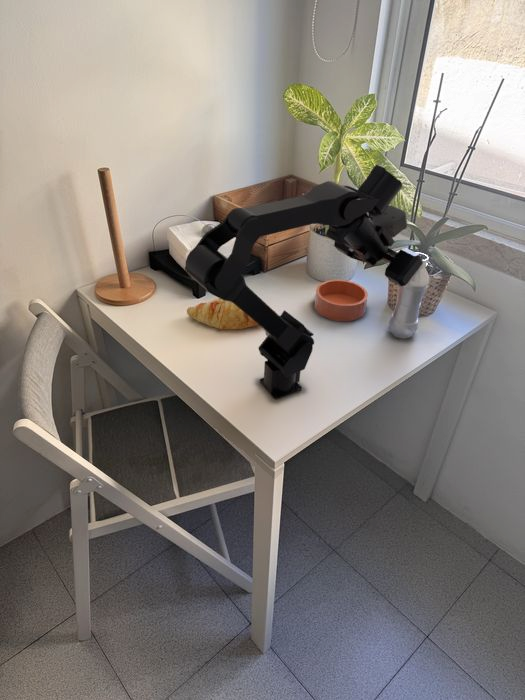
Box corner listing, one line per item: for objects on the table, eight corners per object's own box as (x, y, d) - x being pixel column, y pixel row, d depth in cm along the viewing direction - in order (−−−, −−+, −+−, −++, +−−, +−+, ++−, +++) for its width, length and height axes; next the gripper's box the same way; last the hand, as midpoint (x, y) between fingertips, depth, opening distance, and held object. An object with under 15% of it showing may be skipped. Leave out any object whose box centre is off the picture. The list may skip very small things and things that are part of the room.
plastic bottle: (412, 327, 122) (432, 250, 110) (416, 343, 117) (438, 264, 105) (385, 324, 123) (402, 248, 111) (388, 341, 117) (406, 262, 105)
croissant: (186, 336, 122) (180, 320, 115) (190, 300, 126) (186, 282, 119) (274, 339, 121) (275, 323, 114) (276, 303, 125) (276, 285, 118)
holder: (334, 326, 121) (336, 310, 119) (304, 301, 130) (306, 286, 127) (375, 313, 127) (378, 298, 124) (344, 290, 135) (346, 275, 133)
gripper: (428, 214, 86) (453, 258, 98) (352, 181, 99) (383, 224, 110) (386, 266, 87) (416, 304, 99) (317, 228, 100) (351, 265, 111)
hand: (391, 272), depth 105 cm, fingers open, 9 cm apart
